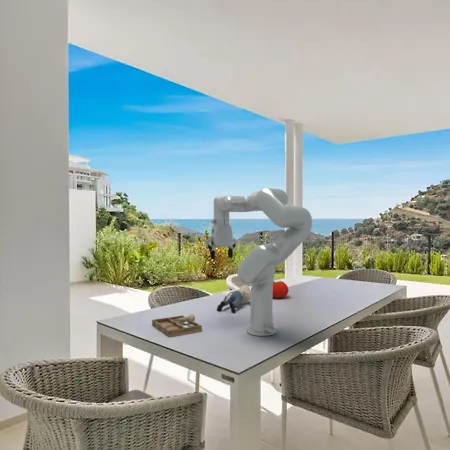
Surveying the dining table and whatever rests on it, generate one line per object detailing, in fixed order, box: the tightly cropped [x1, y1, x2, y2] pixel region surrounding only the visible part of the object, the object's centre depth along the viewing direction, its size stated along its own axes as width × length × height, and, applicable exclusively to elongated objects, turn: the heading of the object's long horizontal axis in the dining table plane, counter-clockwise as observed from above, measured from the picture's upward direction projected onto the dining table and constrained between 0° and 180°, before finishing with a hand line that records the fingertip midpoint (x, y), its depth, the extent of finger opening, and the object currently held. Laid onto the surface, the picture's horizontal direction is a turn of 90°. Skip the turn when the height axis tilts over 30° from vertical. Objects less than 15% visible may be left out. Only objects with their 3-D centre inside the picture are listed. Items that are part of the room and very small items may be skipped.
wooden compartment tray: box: [151, 315, 203, 338], centre depth 170 cm, size 21×15×2 cm
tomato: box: [272, 280, 289, 299], centre depth 236 cm, size 14×16×10 cm
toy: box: [216, 284, 251, 314], centre depth 212 cm, size 23×10×30 cm
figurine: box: [173, 313, 196, 325], centre depth 173 cm, size 4×4×15 cm
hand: (221, 258), depth 181 cm, fingers open, 9 cm apart
